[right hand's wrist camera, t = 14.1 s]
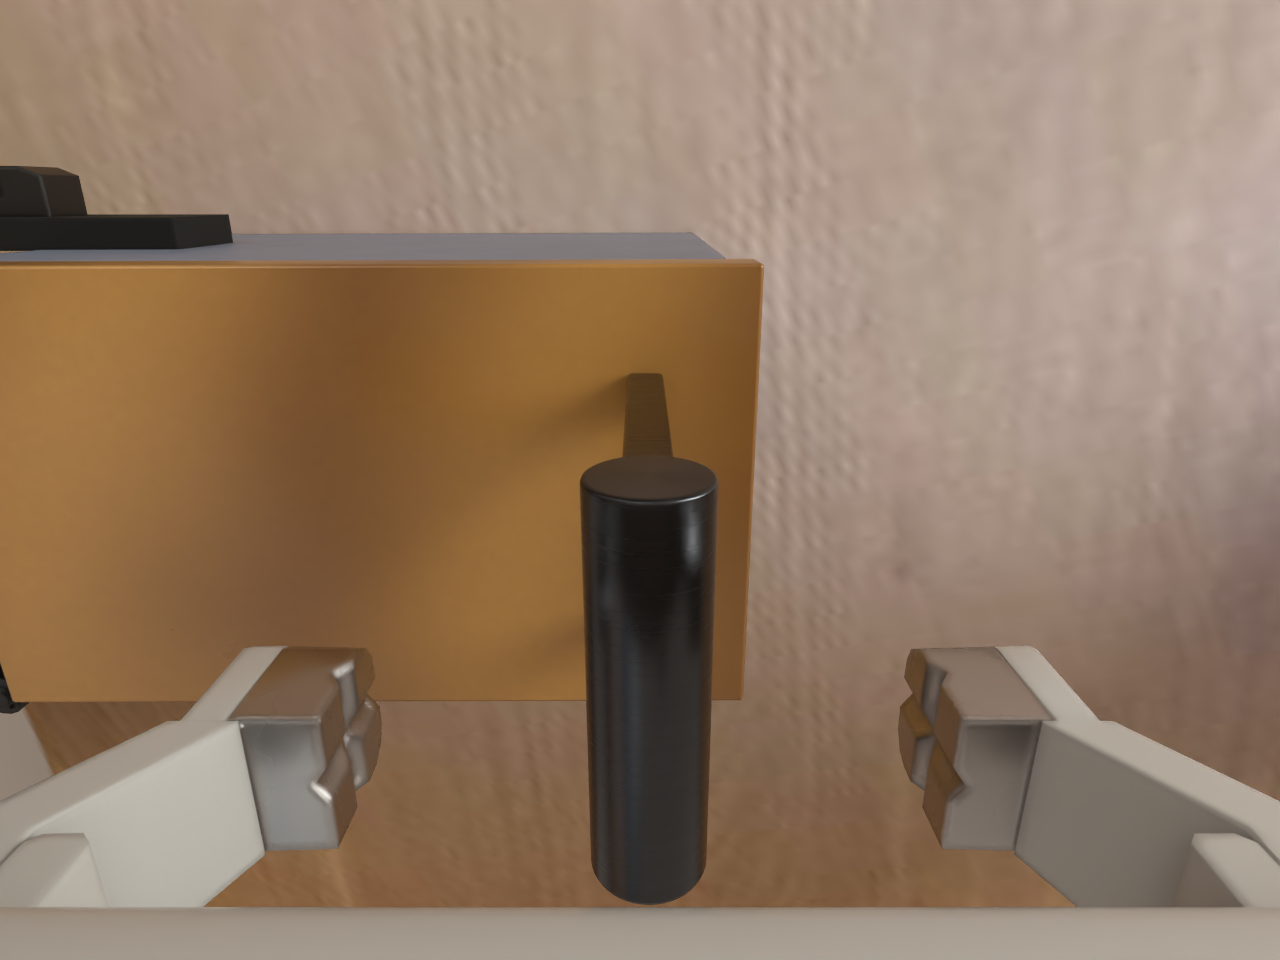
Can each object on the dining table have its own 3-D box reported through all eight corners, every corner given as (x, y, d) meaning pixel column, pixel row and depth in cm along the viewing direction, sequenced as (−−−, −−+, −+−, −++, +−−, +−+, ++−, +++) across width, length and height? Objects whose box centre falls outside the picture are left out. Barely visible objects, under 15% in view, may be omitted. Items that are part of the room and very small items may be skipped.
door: (756, 258, 16) (871, 324, 8) (737, 672, 19) (805, 1007, 11) (-79, 261, 16) (-787, 329, 8) (46, 674, 19) (-365, 1010, 11)
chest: (694, 232, 26) (727, 258, 16) (688, 507, 29) (713, 672, 19) (200, 234, 26) (-78, 261, 16) (250, 508, 29) (48, 673, 19)
